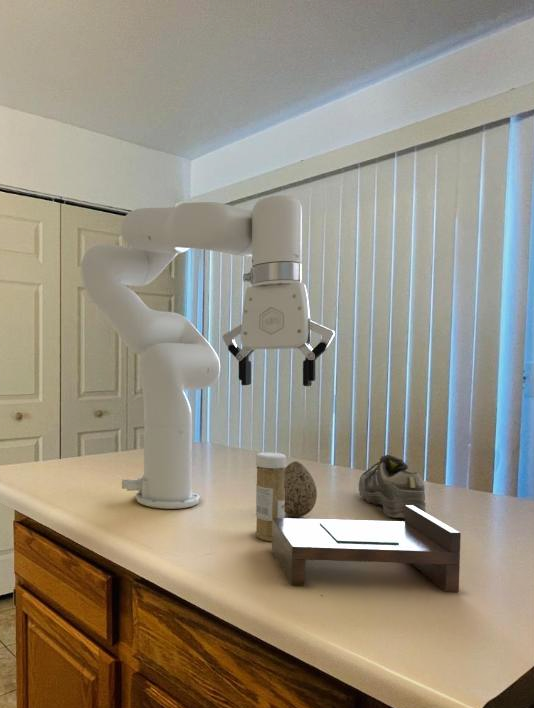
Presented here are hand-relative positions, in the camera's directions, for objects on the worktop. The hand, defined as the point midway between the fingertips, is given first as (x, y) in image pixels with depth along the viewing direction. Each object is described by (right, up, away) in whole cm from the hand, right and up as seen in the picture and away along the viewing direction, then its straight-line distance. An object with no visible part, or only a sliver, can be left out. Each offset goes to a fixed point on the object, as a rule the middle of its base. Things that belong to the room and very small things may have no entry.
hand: (275, 385), depth 84 cm
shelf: (+7, -25, -13) cm, 29 cm away
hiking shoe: (+28, -24, +17) cm, 40 cm away
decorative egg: (+7, -24, +11) cm, 27 cm away
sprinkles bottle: (-1, -25, 0) cm, 25 cm away
